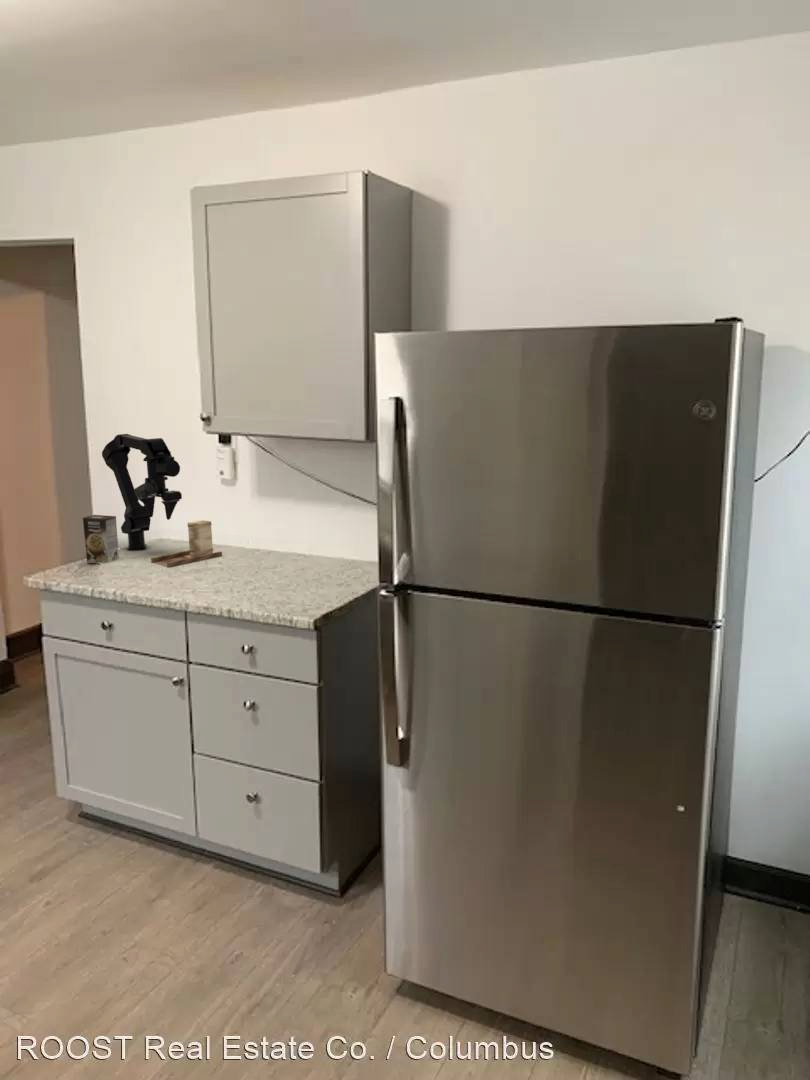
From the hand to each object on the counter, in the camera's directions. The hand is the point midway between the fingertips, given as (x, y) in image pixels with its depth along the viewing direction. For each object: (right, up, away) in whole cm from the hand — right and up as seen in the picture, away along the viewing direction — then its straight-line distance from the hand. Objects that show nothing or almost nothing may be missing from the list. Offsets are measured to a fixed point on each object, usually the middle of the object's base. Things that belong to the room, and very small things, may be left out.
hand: (159, 518), depth 297 cm
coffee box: (-17, -16, -8) cm, 24 cm away
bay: (+12, -15, -10) cm, 22 cm away
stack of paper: (+16, -13, -6) cm, 22 cm away
